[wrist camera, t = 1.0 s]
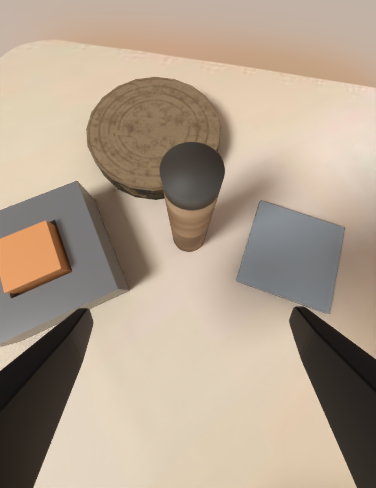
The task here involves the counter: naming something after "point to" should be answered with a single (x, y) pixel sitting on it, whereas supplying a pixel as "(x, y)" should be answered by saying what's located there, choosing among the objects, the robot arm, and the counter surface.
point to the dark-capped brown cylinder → (191, 190)
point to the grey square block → (79, 255)
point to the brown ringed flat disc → (147, 131)
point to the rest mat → (292, 256)
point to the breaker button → (32, 258)
